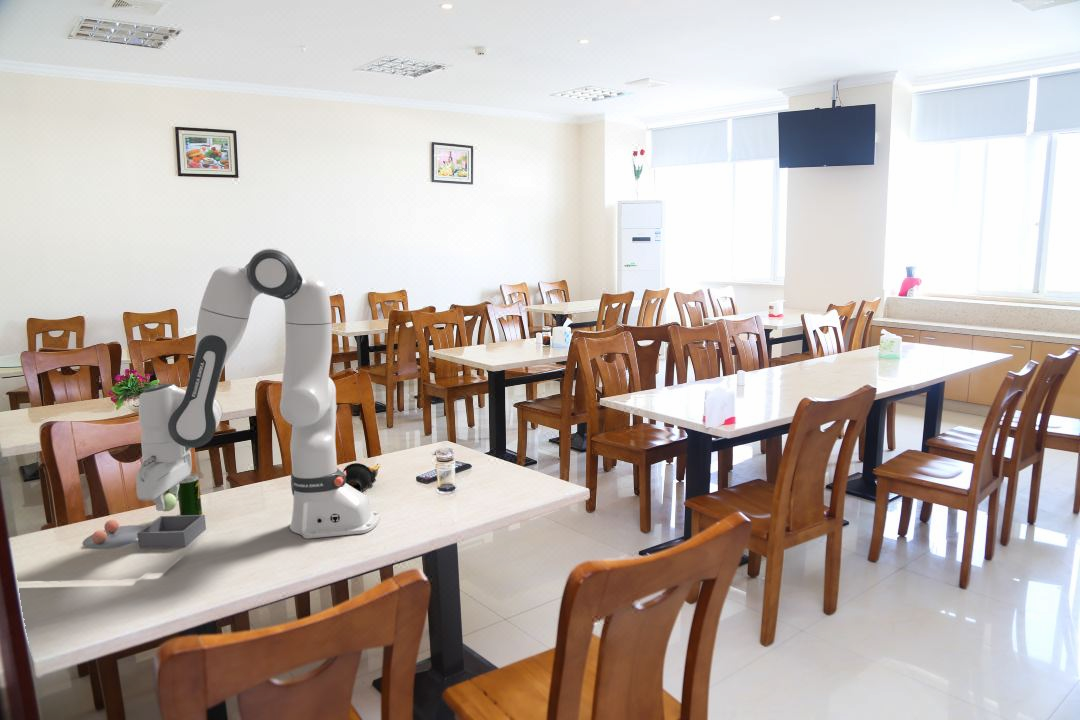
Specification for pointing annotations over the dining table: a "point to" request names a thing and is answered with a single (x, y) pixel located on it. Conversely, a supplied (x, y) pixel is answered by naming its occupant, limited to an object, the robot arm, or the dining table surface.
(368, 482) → the fried shrimp in bowl
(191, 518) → the bin
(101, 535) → the tomato
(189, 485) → the beer can
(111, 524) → the tomato
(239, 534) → the dining table surface
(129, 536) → the slate plate
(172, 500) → the lettuce ball
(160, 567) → the dining table surface
